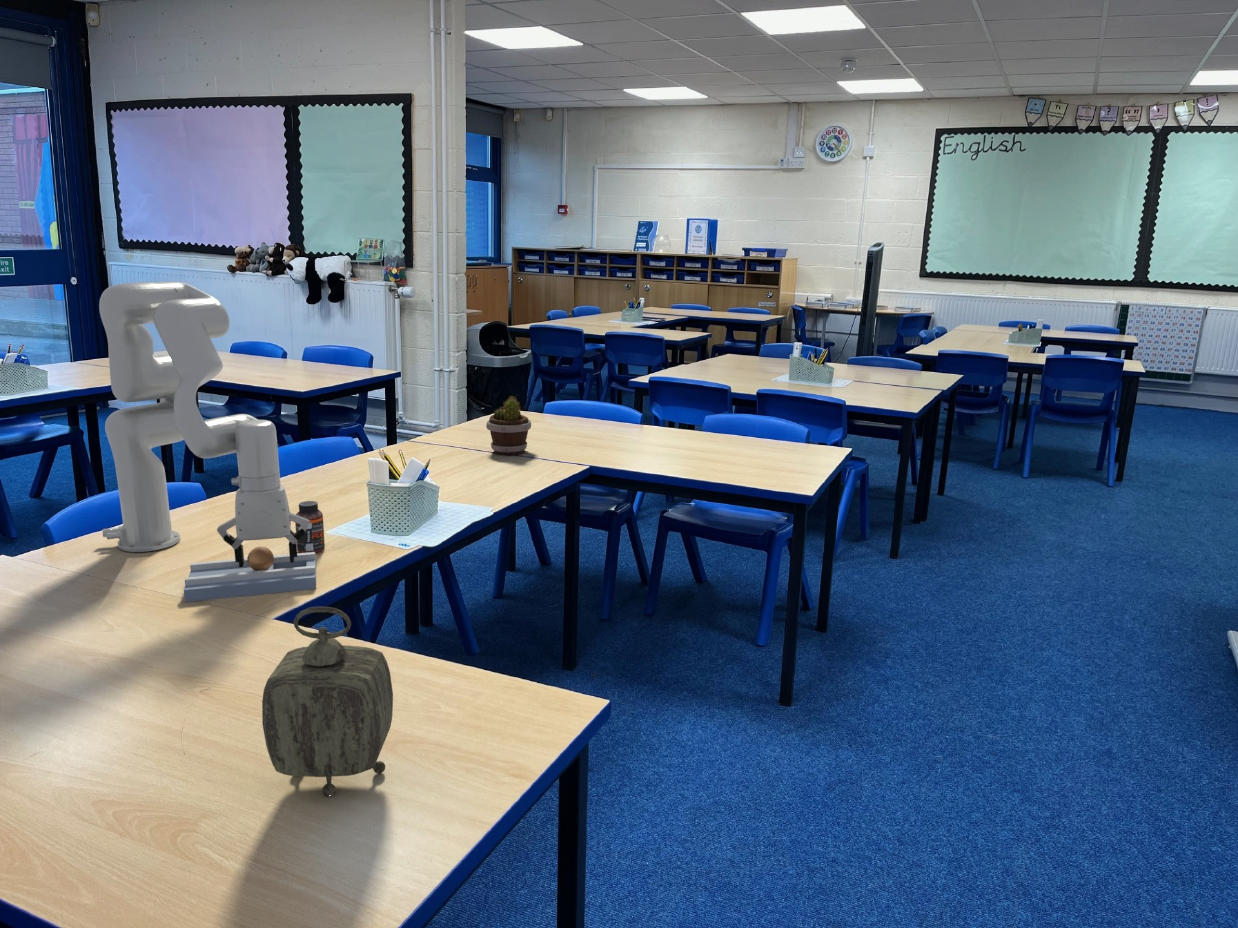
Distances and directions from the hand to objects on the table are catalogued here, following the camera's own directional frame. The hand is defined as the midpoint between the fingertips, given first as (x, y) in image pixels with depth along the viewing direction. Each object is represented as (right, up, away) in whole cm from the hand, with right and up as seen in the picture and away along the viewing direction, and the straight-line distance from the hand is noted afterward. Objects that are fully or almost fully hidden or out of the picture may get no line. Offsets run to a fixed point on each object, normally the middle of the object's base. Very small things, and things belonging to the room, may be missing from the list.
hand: (267, 562), depth 179 cm
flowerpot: (+35, +24, +112) cm, 120 cm away
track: (-3, -4, 0) cm, 5 cm away
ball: (-1, +1, -1) cm, 2 cm away
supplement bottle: (+3, 0, +18) cm, 19 cm away
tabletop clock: (+35, -22, -65) cm, 77 cm away
